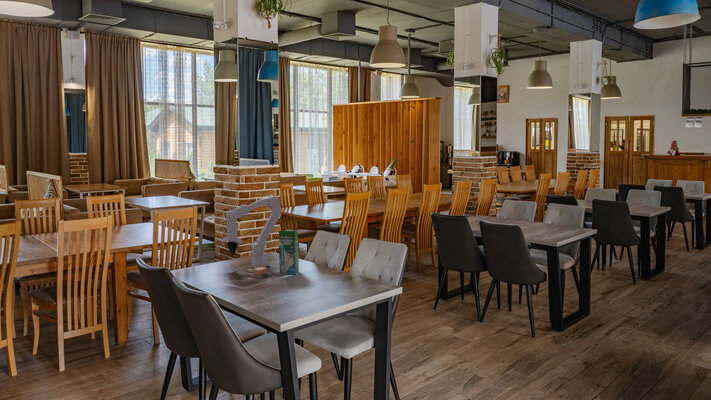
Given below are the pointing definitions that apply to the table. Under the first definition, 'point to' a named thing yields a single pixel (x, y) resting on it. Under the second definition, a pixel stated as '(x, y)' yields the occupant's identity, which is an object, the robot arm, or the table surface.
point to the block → (260, 271)
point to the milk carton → (288, 252)
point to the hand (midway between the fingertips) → (232, 254)
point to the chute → (253, 274)
